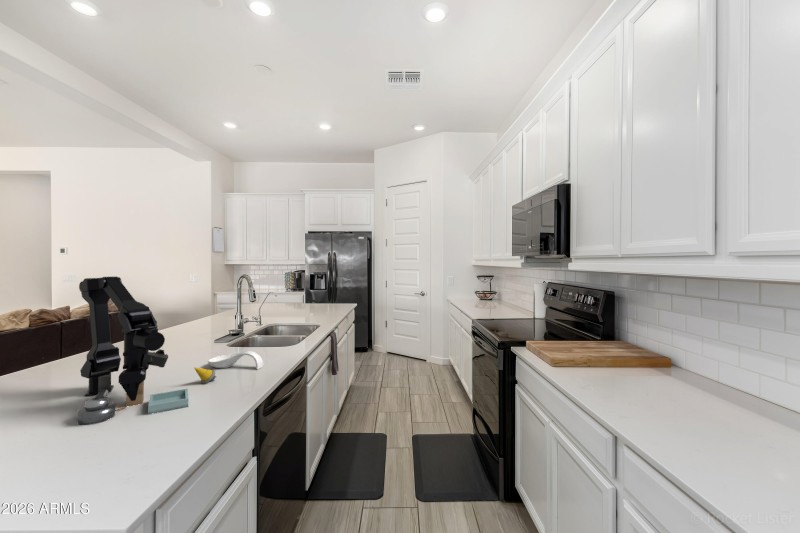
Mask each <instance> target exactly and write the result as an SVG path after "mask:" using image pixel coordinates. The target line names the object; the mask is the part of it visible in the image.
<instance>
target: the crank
mask: <svg viewBox="0 0 800 533" xmlns="http://www.w3.org/2000/svg"><path fill="white" fill-rule="evenodd" d="M111 385H112V374H111V375H104V376H100V377H98V391H99V392H98V394H96V396H95V397H93V398H89V399H87V400H86V401H85V402H84V407H85V410H86V411H93V410H98V409H102V408H104V407H107V406H108V405H109V402H110V401H109V399H110V398H109V397H108V396H107V394H108V393H109V392H108V390H110V389H111Z"/></svg>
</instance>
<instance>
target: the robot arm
mask: <svg viewBox="0 0 800 533" xmlns="http://www.w3.org/2000/svg"><path fill="white" fill-rule="evenodd" d="M78 290H79V292H80V293H81V298H82V299H83V300H84V301H85V302H86V303H87V304H88V307H89V318H90V319H89V320H90V329H91V330H90V331H91V342H92V343H91V344H92V346H91V348H90V349H89V351H88V352H87V354H86V361H85V362H84V364H83V365H82V367H81V369H80V371H79V372H80V377H82V378H85V379H88V390H87V391H86V393H85V394H84V396H85V397H88V396H95V395H96V396H97V394H98V392H99V391H98V377H100V376H104V375H111V376H112V373H114V372H119V369H120V365H121V360H122V358H121V356H120V348H119V347H118V346H115V345H114V344H113V343H112V337H111V336H112V334H111V324H110V314H109V301H110V300H111V302H112V303H113V304H114V306H115V307H116V308H117V309H118V311H119V312H118V315H117V318H118V321H119V323H120V325H121V326H122V327H123V328H122V329H121V331H120V332H121V333H123V352H122V357H123V365H122V370H123V371H121V372H120V373H119V376H118V384H119V385H120V386H121V387H122V389H123V390H124V391H125V393H127V395H128V397H129V398H130V400H131V401H135V400H136V397H137V393H138V388H139V384H140V383H142V382H143V381H144V382H145V380H146V378H147V371H148V369H149V366H153V367H158V368H165V366H166V364H167V361H168V359H169V355H168V354H167V353H166V354H165V350H164V349H161V348H162V347H163V346H164V344H165V340H166V338H165V336H164V334H163V333H161V332H159V328H158V327H159V326H158V324H157V323H158V322H157V320H156V318H155V316H154V315H153V314H154V313H153V312H152V310H151V309H150V308H149V307H148V306H146V304H145V303H142V302H140V301H137V300H135V298H134V297H133V295H132V294H131V292H130V291H129V290H128V289H127V287H126V286H125V285H124V283H123V282H122V278H121V277H118V276H102V277H87V278H83V280H82V281H80V282H79V285H78ZM155 351H156V352H155ZM114 387H115V386H114V384H111V389H110V390H108V393H112V391H113V389H114Z"/></svg>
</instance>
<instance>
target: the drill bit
mask: <svg viewBox="0 0 800 533" xmlns="http://www.w3.org/2000/svg"><path fill="white" fill-rule="evenodd" d="M193 370H195V371H196V373H197V375H198V377H199V378H200V381H201V383H203V384H204V385H206V384H208V383H209V382H211V381H213V382H214V381H215V379H216V378H217V375H215V374H216V370H214V369H212V368H211V369H206V368H203V367H202V368H200V367H195V366H194V367H193Z"/></svg>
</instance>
